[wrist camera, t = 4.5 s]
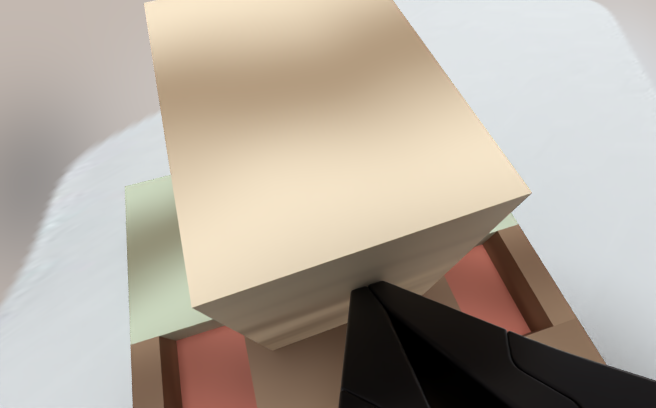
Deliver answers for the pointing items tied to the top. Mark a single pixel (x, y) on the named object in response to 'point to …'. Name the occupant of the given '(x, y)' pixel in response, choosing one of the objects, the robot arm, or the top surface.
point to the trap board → (313, 352)
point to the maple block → (316, 158)
